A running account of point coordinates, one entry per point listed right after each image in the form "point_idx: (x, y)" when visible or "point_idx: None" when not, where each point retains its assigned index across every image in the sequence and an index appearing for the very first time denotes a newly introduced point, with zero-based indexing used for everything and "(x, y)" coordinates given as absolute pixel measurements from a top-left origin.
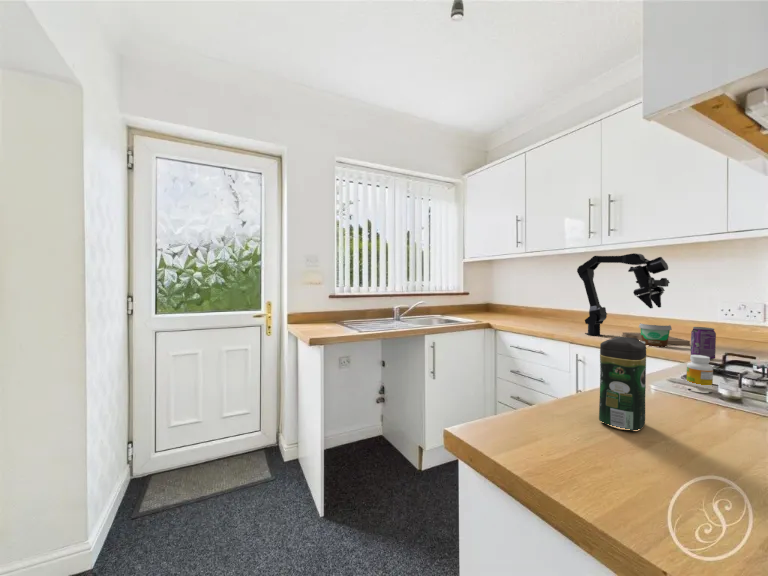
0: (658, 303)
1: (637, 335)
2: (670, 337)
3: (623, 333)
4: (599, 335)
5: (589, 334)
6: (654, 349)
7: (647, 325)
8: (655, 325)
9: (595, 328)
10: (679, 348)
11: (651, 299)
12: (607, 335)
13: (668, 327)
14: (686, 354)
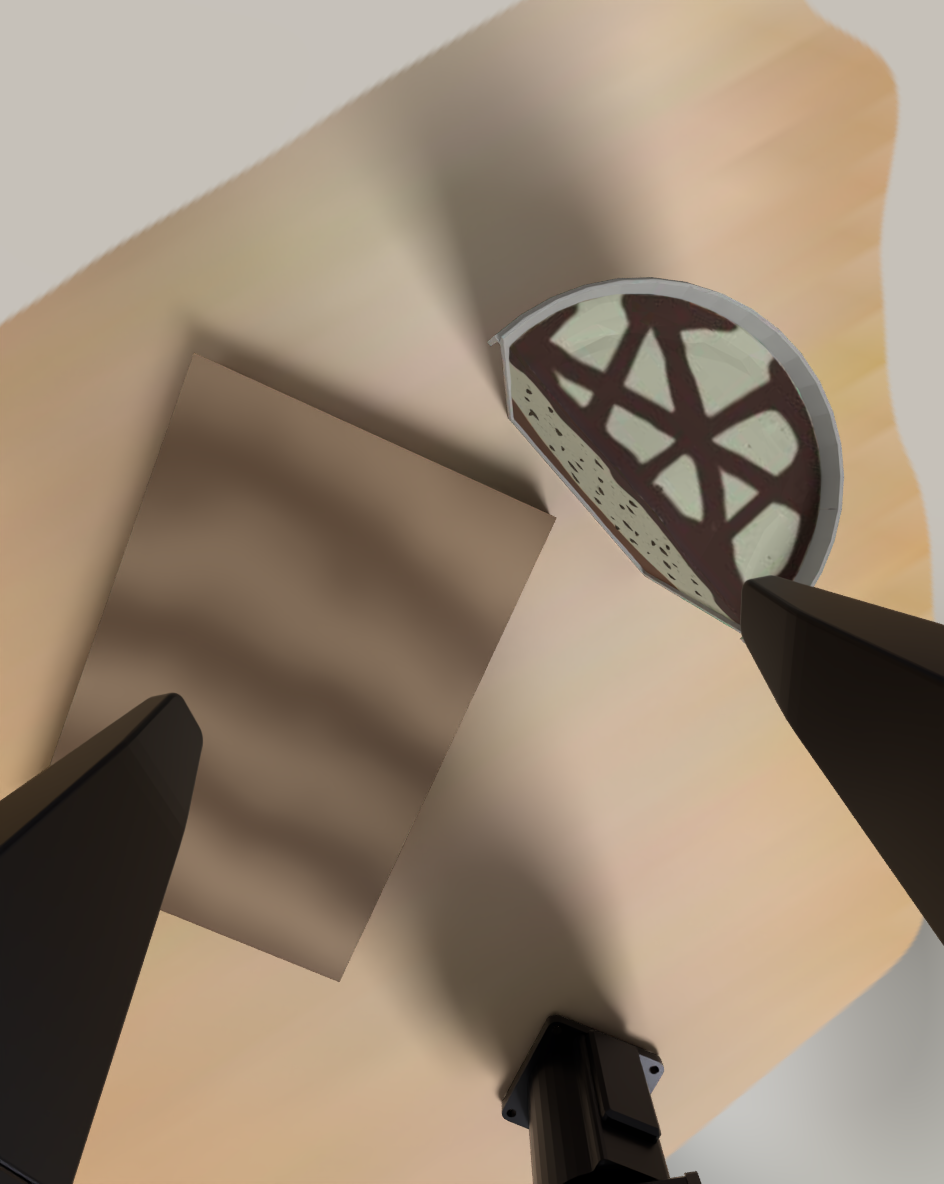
0: (130, 804)
1: (394, 792)
2: (164, 581)
3: (349, 959)
4: (586, 1027)
5: (654, 1085)
6: (834, 339)
7: (833, 487)
8: (813, 380)
9: (655, 1117)
10: (525, 284)
11: (75, 1156)
12: (463, 1022)
13: (647, 279)
14: (816, 43)
